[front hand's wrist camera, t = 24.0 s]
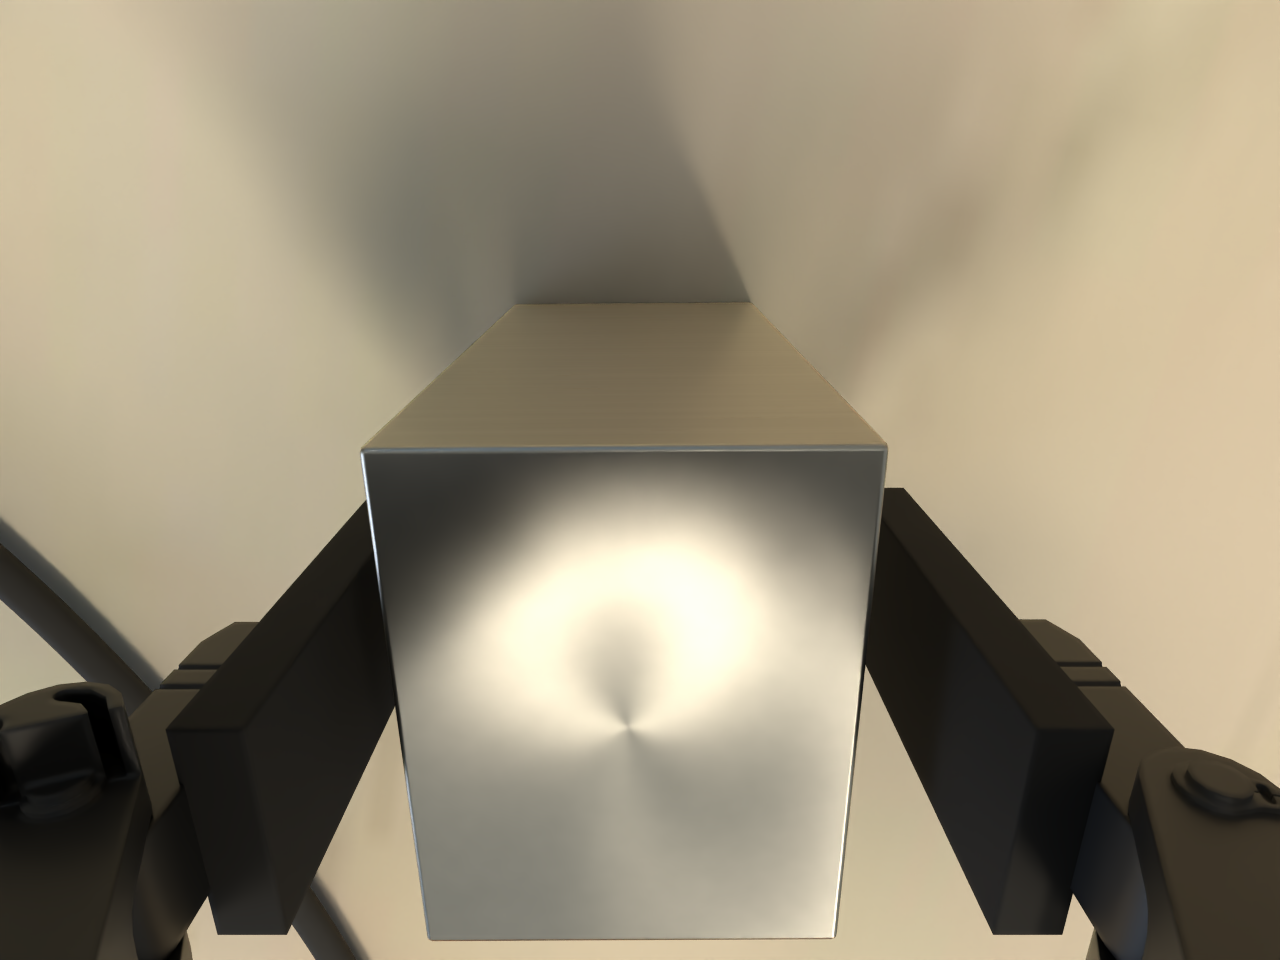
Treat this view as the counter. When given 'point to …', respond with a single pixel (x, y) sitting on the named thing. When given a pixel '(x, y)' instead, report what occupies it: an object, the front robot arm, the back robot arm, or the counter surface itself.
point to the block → (628, 625)
